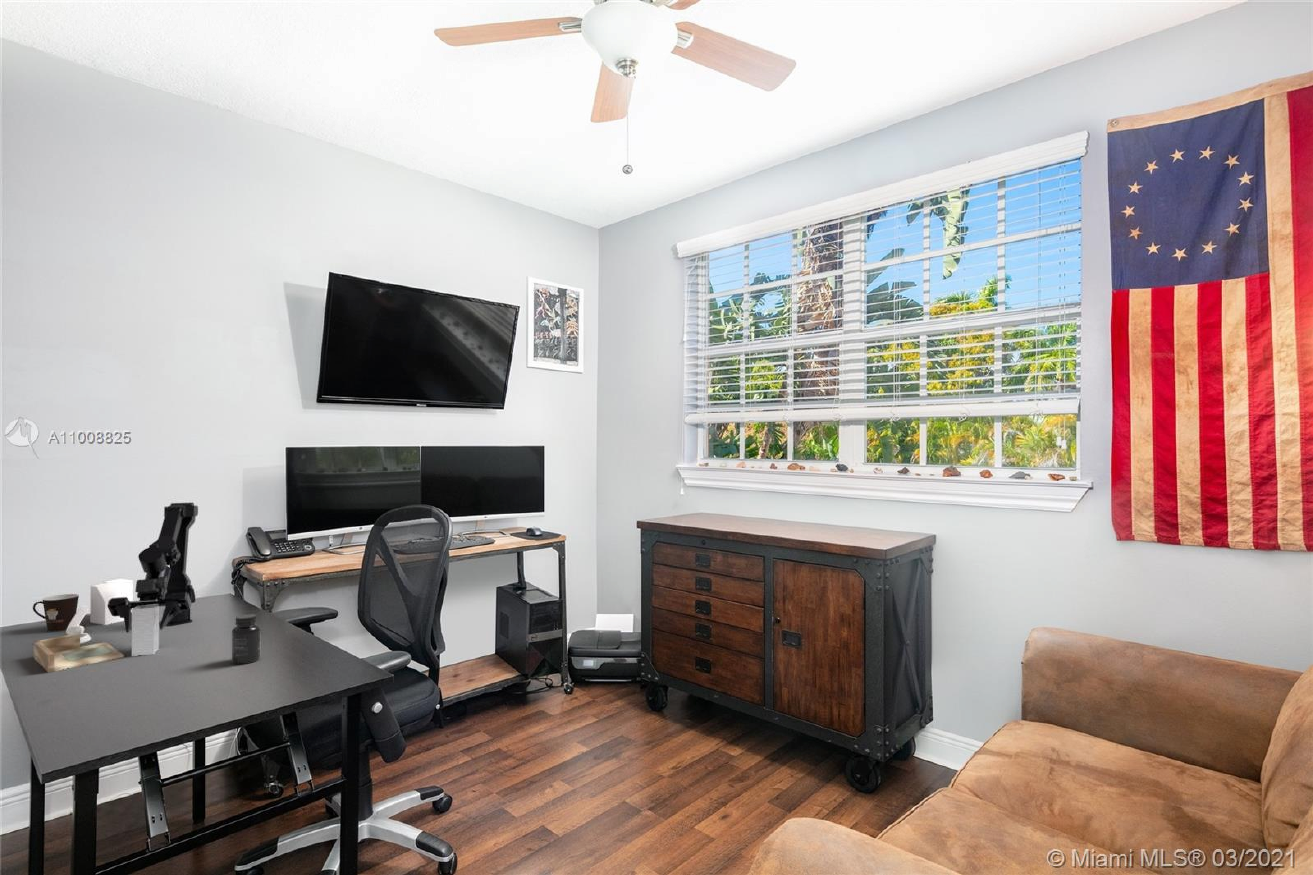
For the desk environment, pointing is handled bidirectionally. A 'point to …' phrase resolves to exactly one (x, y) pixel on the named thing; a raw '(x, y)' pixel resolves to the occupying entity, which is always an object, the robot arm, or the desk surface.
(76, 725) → the desk surface
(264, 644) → the desk surface
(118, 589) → the white angled block
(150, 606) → the aluminium block
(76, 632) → the hook
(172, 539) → the robot arm
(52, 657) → the tan wooden shallow tray
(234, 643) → the supplement bottle
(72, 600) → the coffee mug
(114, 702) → the desk surface
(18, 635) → the desk surface
